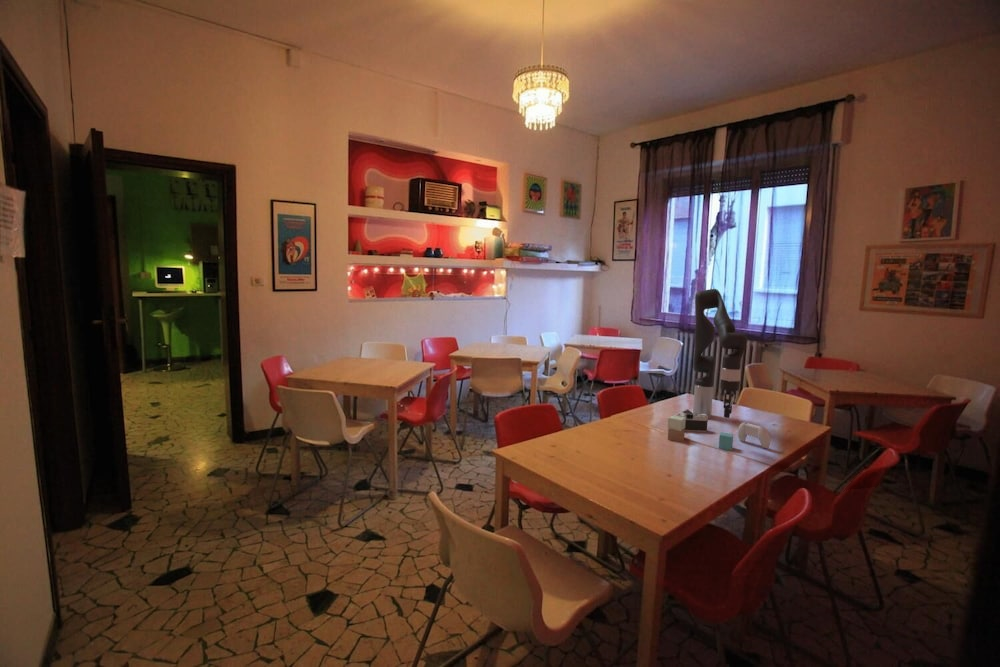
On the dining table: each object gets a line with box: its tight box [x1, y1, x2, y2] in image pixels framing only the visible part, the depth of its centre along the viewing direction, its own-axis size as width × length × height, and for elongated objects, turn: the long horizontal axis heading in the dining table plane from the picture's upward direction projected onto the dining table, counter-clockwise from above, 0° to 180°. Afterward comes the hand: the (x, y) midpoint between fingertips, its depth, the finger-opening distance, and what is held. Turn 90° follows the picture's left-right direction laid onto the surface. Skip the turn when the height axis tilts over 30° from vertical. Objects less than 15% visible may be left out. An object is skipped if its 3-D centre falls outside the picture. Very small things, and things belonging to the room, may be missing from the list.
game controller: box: [737, 421, 771, 450], centre depth 211 cm, size 14×4×10 cm, turn 31°
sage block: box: [667, 414, 686, 431], centre depth 218 cm, size 6×6×5 cm
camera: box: [674, 409, 709, 432], centre depth 233 cm, size 16×9×10 cm, turn 84°
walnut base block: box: [667, 428, 686, 443], centre depth 218 cm, size 7×7×5 cm
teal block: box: [718, 432, 734, 452], centre depth 206 cm, size 5×5×6 cm
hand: (727, 415), depth 205 cm, fingers open, 8 cm apart
